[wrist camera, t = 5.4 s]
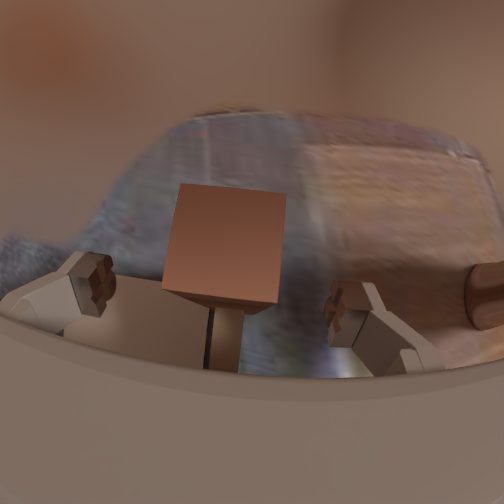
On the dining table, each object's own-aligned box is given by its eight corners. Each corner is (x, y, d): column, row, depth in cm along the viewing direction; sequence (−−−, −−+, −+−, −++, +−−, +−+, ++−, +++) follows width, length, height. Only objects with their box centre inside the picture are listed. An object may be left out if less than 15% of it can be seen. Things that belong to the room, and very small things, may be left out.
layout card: (196, 444, 16) (195, 445, 15) (63, 405, 15) (61, 406, 15) (212, 288, 18) (211, 288, 18) (74, 267, 18) (72, 266, 18)
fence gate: (241, 420, 16) (242, 550, 4) (203, 415, 16) (152, 536, 4) (257, 277, 18) (286, 193, 6) (219, 272, 18) (180, 183, 6)
